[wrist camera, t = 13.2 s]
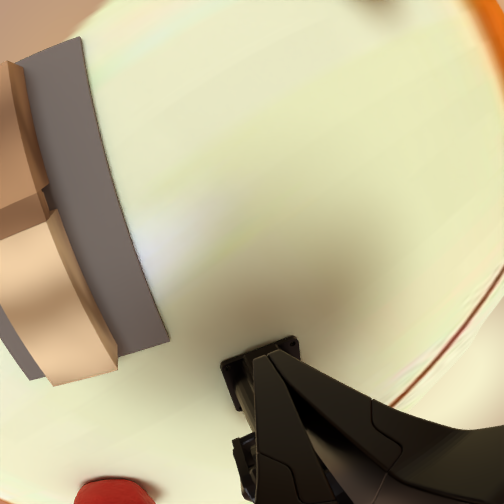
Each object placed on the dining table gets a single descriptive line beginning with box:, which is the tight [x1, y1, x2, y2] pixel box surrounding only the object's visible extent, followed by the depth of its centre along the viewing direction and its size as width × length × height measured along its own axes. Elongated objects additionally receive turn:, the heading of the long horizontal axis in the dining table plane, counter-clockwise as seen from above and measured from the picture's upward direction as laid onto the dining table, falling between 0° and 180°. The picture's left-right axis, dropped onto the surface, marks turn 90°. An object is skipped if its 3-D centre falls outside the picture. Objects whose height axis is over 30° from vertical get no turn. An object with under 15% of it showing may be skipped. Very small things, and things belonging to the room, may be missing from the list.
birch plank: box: [0, 192, 118, 387], centre depth 16 cm, size 11×5×2 cm, turn 12°
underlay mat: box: [0, 36, 170, 380], centre depth 16 cm, size 20×12×1 cm, turn 12°
